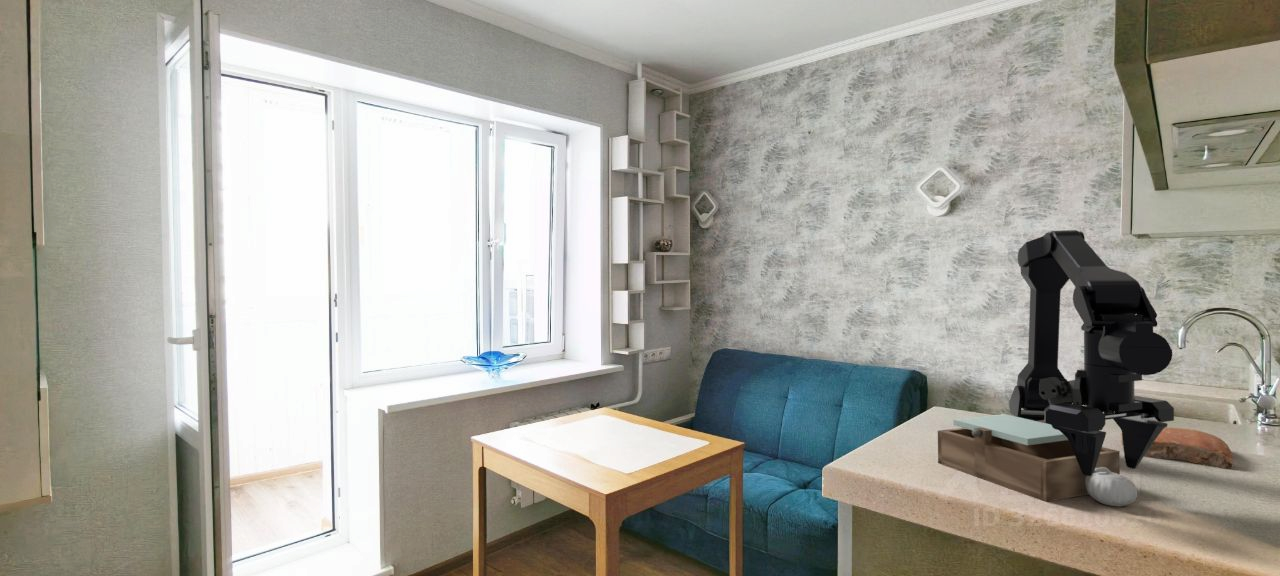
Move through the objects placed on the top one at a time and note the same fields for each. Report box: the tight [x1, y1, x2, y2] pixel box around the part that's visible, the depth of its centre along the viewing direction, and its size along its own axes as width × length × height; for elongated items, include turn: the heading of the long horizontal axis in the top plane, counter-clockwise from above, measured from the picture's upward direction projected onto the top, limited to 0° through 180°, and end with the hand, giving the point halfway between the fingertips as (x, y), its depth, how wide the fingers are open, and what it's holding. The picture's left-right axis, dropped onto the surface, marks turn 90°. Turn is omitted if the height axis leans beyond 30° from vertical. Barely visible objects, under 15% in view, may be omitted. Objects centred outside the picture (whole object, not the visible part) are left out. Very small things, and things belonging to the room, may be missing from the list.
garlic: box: [1085, 467, 1138, 507], centre depth 86 cm, size 6×5×5 cm
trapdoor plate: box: [952, 413, 1068, 445], centre depth 100 cm, size 12×14×1 cm
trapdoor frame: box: [937, 420, 1121, 502], centre depth 99 cm, size 18×20×8 cm
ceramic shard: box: [1120, 427, 1235, 470], centre depth 110 cm, size 15×6×15 cm
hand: (1109, 471), depth 86 cm, fingers open, 9 cm apart
